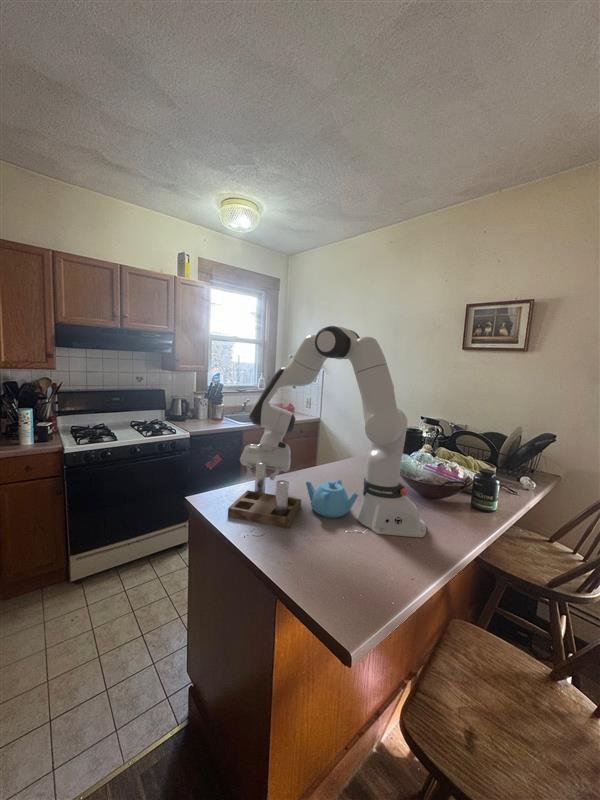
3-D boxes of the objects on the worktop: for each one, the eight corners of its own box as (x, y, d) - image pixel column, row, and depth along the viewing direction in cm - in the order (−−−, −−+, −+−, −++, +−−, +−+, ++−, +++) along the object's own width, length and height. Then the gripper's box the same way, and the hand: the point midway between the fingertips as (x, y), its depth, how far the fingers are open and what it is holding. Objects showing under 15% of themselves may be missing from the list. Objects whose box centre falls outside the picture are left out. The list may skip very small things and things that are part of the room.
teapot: (303, 502, 121) (304, 475, 120) (339, 499, 126) (341, 473, 125) (317, 522, 107) (319, 491, 106) (357, 518, 111) (360, 488, 110)
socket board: (300, 507, 117) (301, 499, 116) (288, 528, 101) (289, 519, 101) (247, 497, 122) (247, 490, 121) (227, 516, 106) (228, 508, 106)
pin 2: (287, 518, 108) (290, 481, 106) (284, 524, 104) (286, 485, 102) (276, 516, 109) (278, 479, 107) (272, 522, 105) (274, 483, 103)
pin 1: (266, 494, 126) (268, 462, 125) (262, 498, 122) (264, 465, 121) (256, 492, 127) (258, 460, 126) (252, 496, 123) (254, 463, 122)
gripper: (244, 439, 132) (232, 469, 123) (292, 445, 127) (283, 477, 119) (248, 447, 137) (237, 477, 128) (294, 453, 132) (286, 484, 123)
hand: (260, 477), depth 123 cm, fingers open, 8 cm apart
